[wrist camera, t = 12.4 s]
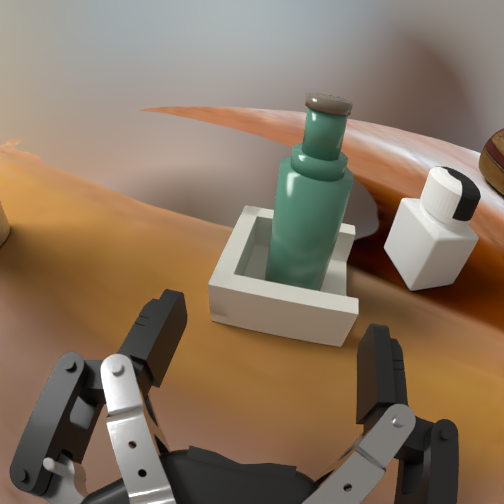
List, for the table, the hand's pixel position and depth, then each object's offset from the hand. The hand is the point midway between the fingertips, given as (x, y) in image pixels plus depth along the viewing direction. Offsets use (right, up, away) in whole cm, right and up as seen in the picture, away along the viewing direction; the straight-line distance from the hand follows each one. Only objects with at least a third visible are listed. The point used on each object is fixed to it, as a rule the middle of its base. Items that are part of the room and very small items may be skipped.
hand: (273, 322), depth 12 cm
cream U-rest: (+2, 0, +15) cm, 16 cm away
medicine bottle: (+19, +1, +19) cm, 26 cm away
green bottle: (+3, 0, +15) cm, 15 cm away
